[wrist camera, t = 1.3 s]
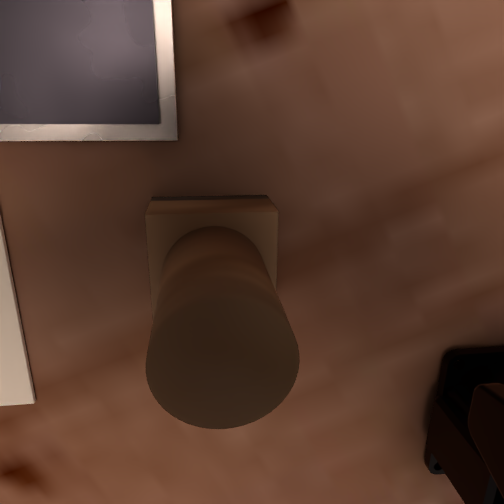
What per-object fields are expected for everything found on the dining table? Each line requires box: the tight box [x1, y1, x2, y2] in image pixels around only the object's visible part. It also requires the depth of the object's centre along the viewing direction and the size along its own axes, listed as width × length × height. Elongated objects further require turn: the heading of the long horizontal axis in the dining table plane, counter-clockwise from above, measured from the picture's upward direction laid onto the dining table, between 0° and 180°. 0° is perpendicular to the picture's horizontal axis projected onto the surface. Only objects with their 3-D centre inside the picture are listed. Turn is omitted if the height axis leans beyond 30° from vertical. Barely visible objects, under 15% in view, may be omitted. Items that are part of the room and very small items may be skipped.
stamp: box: [145, 195, 299, 429], centre depth 13 cm, size 4×4×7 cm
